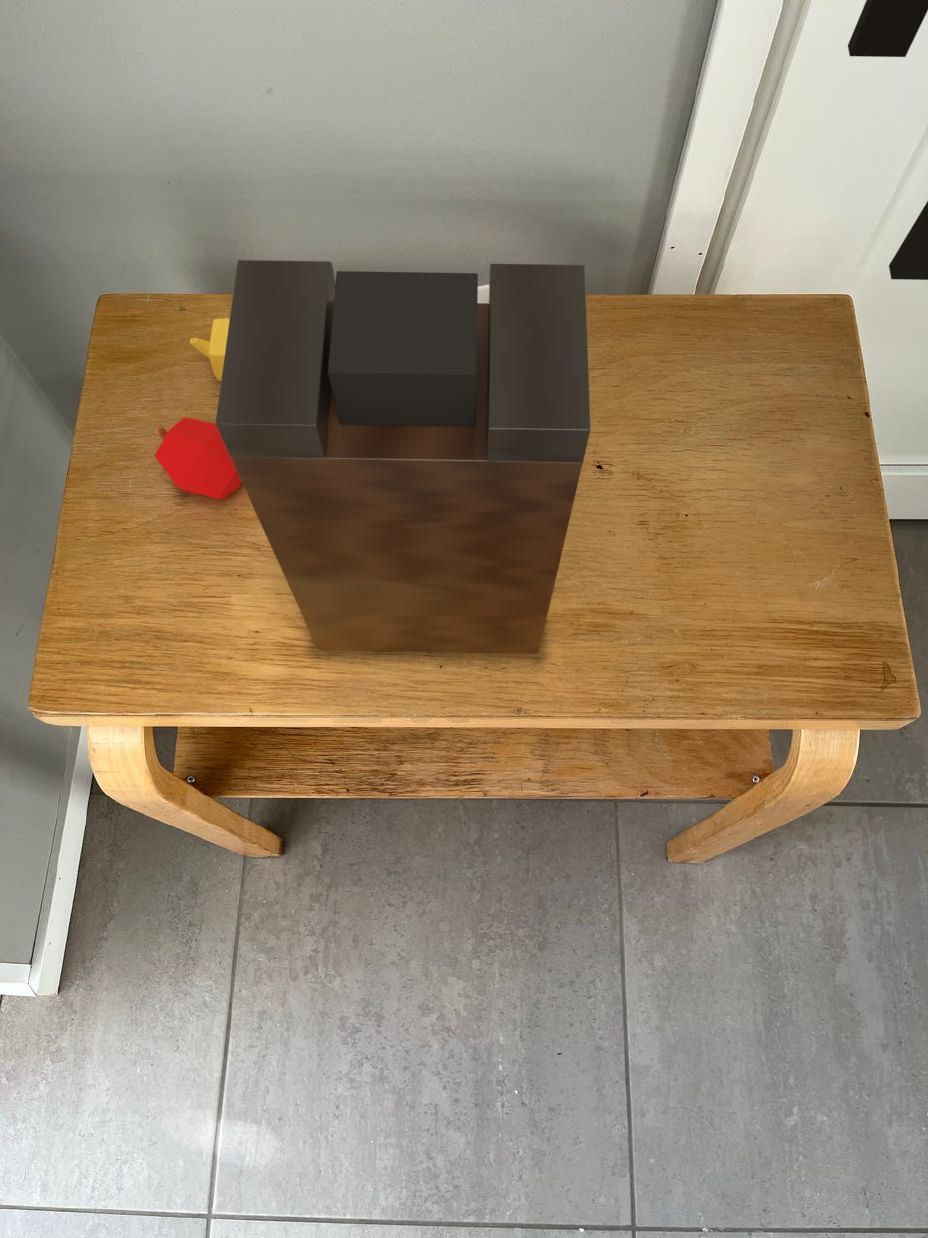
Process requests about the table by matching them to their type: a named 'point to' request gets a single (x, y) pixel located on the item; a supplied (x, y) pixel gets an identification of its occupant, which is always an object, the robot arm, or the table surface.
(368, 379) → the pad
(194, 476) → the apple
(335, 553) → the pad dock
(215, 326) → the teapot
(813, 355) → the table surface
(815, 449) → the table surface
